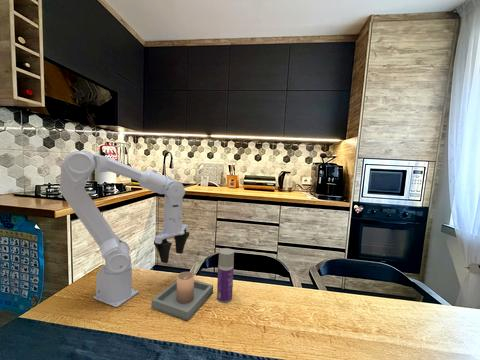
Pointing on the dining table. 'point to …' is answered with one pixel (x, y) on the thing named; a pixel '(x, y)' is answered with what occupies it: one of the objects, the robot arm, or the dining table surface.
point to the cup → (185, 287)
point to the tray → (182, 311)
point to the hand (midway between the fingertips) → (172, 257)
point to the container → (225, 275)
